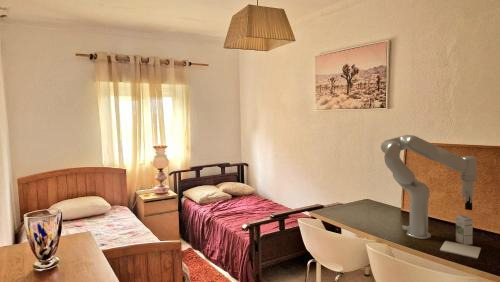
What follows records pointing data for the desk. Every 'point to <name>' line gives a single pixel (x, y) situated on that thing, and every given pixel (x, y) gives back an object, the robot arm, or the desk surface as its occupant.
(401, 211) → the desk surface
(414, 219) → the robot arm
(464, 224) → the syrup box
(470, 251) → the mat
